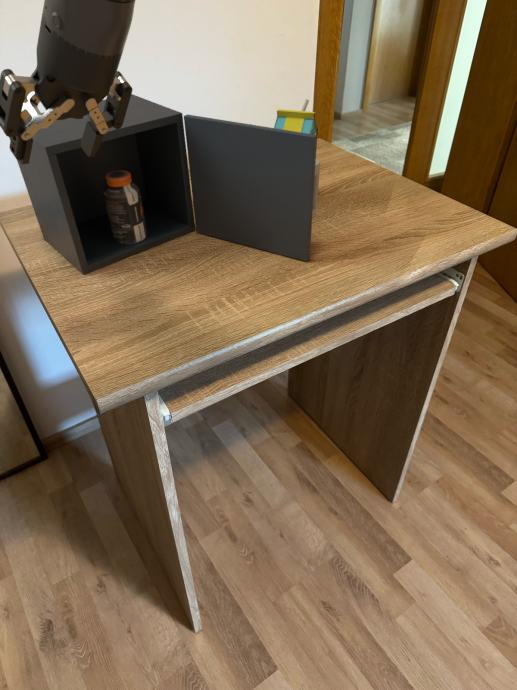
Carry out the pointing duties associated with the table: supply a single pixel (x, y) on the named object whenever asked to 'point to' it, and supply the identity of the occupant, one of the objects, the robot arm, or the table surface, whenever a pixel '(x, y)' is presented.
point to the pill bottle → (124, 208)
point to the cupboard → (90, 182)
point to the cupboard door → (253, 184)
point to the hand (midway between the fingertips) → (55, 155)
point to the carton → (297, 120)
